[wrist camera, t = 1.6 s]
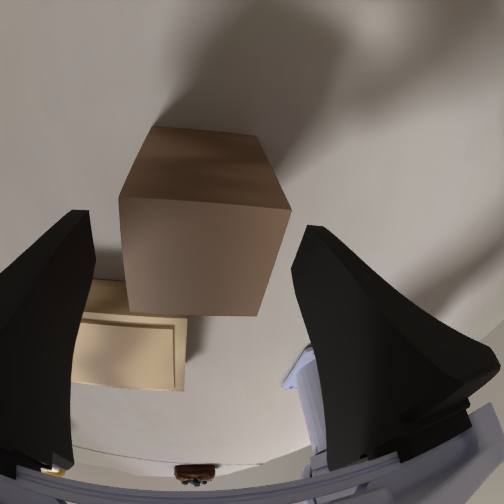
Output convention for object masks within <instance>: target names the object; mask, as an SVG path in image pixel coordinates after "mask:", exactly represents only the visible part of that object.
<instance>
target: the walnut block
mask: <svg viewBox="0 0 504 504" xmlns="http://www.w3.org/2000/svg"><path fill="white" fill-rule="evenodd" d="M291 212H292V209H291V207H290V205H289V203H288V201H287V199H286V197H285V194H284V192H283V190H282V188H281V186H280V184H279V182H278V180H277V178H276V176H275V173H274V171H273V169H272V167H271V165H270V163H269V161H268V159H267V157H266V155H265V153H264V151H263V149H262V147H261V145H260V143H259V141H258V139H257V137H256V136H248V135H241V134H233V133H225V132H216V131H206V130H195V129H183V128H169V127H151V129H150V131H149V133H148V135H147V137H146V139H145V141H144V143H143V145H142V147H141V149H140V151H139V153H138V155H137V157H136V159H135V161H134V163H133V165H132V168H131V170H130V172H129V174H128V176H127V179H126V181H125V183H124V185H123V188H122V190H121V192H120V195H119V216H120V231H121V243H122V253H123V263H124V272H125V280H126V287H127V295H128V301H129V308H130V312H141V313H158V314H179V315H206V316H257V314H258V311H259V308H260V305H261V302H262V299H263V296H264V293H265V291H266V288H267V285H268V282H269V279H270V276H271V273H272V270H273V267H274V264H275V261H276V258H277V255H278V252H279V249H280V246H281V243H282V239H283V236H284V233H285V230H286V227H287V224H288V221H289V218H290V215H291Z"/></svg>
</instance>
